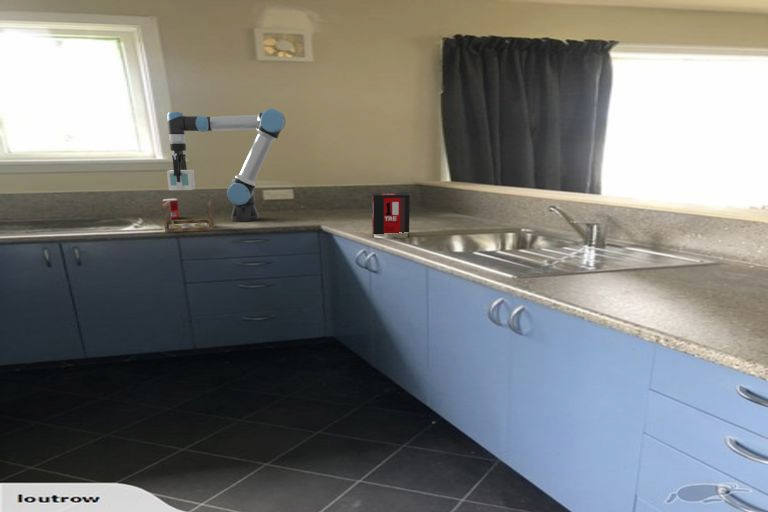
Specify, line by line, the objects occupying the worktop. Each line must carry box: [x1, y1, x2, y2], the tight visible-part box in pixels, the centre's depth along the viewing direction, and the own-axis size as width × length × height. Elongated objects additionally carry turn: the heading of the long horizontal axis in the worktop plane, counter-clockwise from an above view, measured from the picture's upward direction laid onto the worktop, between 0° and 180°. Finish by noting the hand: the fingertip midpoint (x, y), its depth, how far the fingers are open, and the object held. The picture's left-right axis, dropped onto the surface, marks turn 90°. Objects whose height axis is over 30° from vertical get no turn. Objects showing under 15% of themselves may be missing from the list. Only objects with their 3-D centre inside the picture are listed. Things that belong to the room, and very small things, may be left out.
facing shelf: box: [161, 199, 215, 233], centre depth 255 cm, size 22×14×14 cm, turn 102°
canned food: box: [162, 198, 180, 220], centre depth 288 cm, size 8×8×11 cm
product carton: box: [166, 169, 197, 191], centre depth 263 cm, size 12×6×10 cm, turn 93°
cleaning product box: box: [371, 192, 411, 235], centre depth 233 cm, size 16×9×20 cm, turn 95°
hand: (182, 187), depth 263 cm, fingers closed on product carton, 6 cm apart
